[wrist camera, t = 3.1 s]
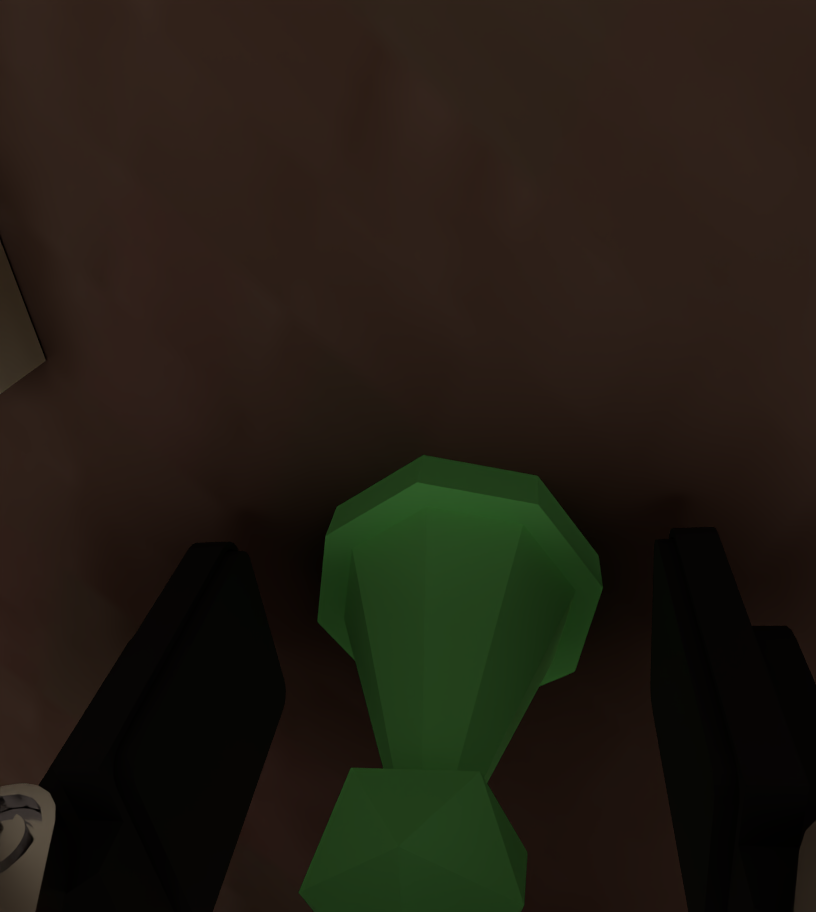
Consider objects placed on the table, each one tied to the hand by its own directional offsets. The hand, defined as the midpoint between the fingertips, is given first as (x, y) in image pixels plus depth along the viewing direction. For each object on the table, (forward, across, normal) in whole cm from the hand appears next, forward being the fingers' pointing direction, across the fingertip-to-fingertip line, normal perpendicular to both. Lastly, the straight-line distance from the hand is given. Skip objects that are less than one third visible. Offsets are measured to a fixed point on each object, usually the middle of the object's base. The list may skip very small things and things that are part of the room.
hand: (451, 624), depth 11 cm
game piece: (+1, 0, 0) cm, 1 cm away
